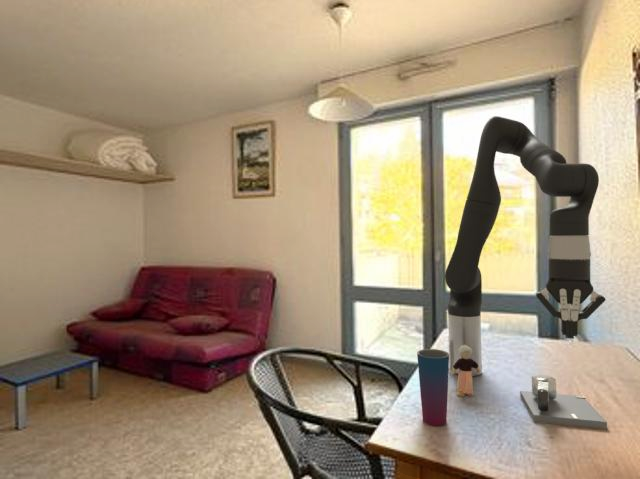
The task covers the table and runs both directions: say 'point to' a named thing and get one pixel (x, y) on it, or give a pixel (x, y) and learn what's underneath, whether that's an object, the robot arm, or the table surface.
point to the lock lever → (543, 390)
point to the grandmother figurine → (465, 371)
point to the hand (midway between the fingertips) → (569, 337)
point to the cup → (433, 385)
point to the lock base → (564, 411)
